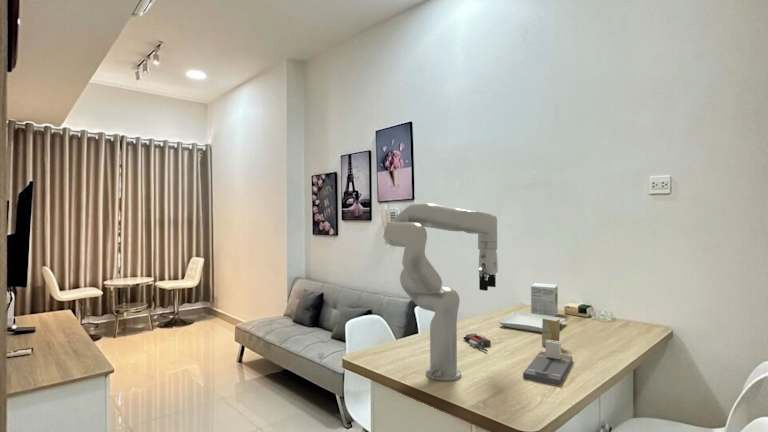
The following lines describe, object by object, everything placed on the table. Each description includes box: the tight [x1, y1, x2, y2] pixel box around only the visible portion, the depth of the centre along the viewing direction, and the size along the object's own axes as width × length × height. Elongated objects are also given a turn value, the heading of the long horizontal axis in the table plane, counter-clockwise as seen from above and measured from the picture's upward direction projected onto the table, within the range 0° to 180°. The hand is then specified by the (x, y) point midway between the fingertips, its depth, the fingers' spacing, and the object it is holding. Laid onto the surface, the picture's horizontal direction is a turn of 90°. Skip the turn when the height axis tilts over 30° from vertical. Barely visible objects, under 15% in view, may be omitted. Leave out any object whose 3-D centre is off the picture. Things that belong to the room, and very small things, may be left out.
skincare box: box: [541, 317, 561, 347], centre depth 180 cm, size 6×4×12 cm
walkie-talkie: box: [462, 333, 492, 352], centre depth 181 cm, size 9×4×20 cm
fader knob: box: [545, 340, 562, 359], centre depth 159 cm, size 3×5×6 cm, turn 57°
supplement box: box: [530, 282, 559, 317], centre depth 240 cm, size 13×13×18 cm
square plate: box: [498, 311, 566, 333], centre depth 215 cm, size 27×27×4 cm
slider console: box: [522, 350, 573, 387], centre depth 152 cm, size 28×12×3 cm, turn 147°
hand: (487, 288), depth 164 cm, fingers open, 9 cm apart
